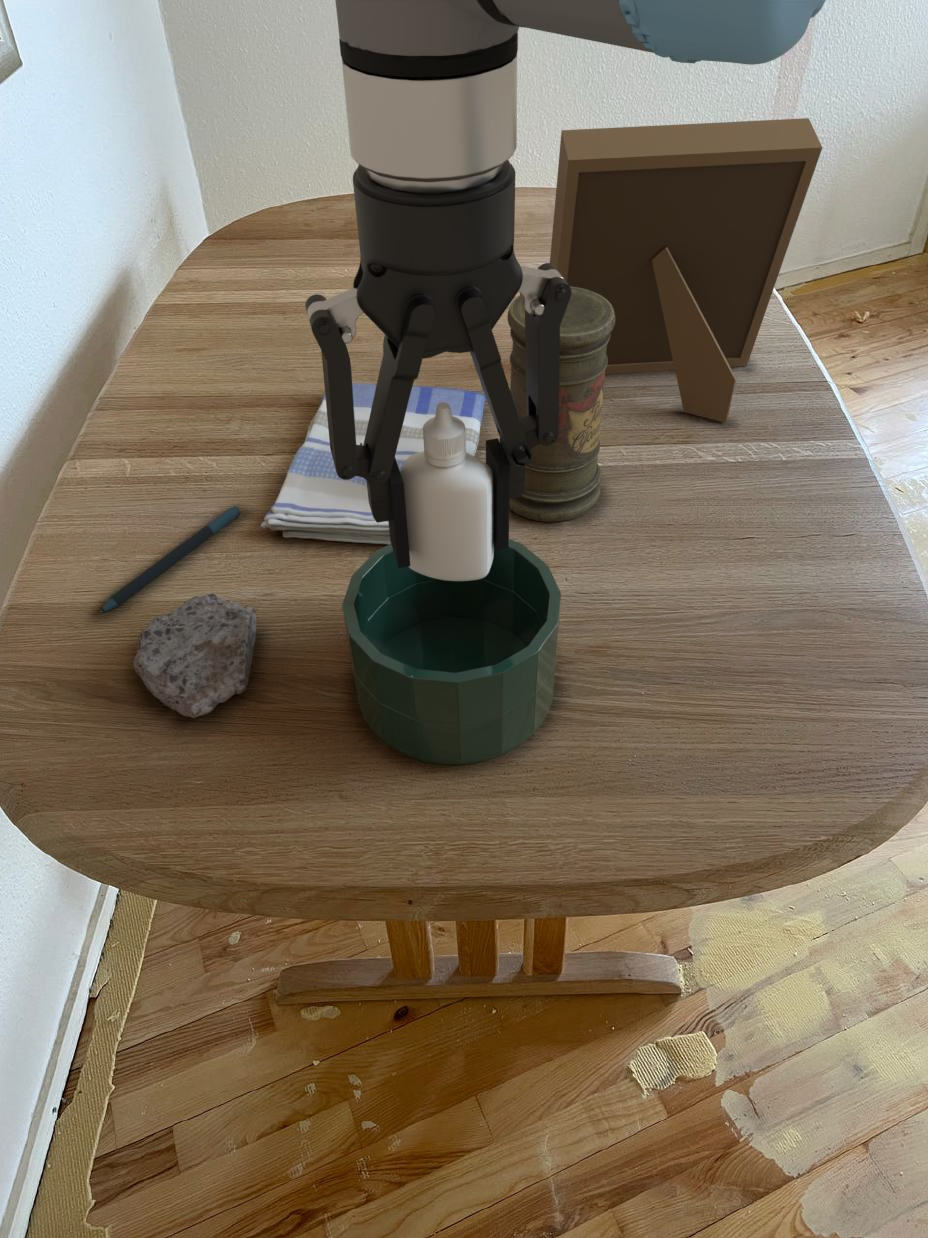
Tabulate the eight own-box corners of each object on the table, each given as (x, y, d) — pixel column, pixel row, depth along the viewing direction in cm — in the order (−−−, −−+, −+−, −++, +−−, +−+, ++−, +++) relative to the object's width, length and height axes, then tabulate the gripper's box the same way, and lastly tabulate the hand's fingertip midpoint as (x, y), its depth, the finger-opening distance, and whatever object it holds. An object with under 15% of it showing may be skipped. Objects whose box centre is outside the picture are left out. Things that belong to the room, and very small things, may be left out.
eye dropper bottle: (440, 529, 62) (433, 372, 53) (504, 565, 59) (506, 407, 51) (395, 562, 60) (379, 404, 51) (459, 601, 57) (454, 442, 48)
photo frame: (541, 357, 101) (552, 108, 83) (735, 346, 101) (788, 97, 84) (561, 434, 90) (578, 169, 72) (777, 420, 91) (847, 155, 73)
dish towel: (260, 540, 80) (254, 515, 78) (328, 394, 96) (324, 371, 94) (454, 557, 78) (453, 532, 76) (490, 405, 94) (490, 381, 92)
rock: (262, 615, 73) (253, 579, 71) (248, 722, 66) (236, 686, 63) (152, 622, 73) (138, 585, 70) (125, 729, 66) (108, 693, 63)
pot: (580, 739, 64) (591, 654, 58) (377, 785, 62) (364, 701, 56) (520, 599, 74) (523, 513, 68) (343, 634, 72) (329, 548, 65)
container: (490, 514, 82) (490, 328, 69) (515, 457, 88) (520, 276, 75) (588, 531, 80) (607, 344, 67) (607, 472, 86) (629, 289, 73)
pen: (98, 615, 74) (93, 604, 74) (234, 512, 83) (231, 502, 82) (106, 620, 74) (102, 610, 73) (242, 516, 83) (240, 506, 82)
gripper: (598, 113, 46) (568, 484, 62) (221, 154, 43) (296, 533, 59) (656, 166, 41) (607, 555, 57) (233, 217, 38) (311, 612, 54)
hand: (449, 543), depth 58 cm, fingers closed on eye dropper bottle, 6 cm apart
